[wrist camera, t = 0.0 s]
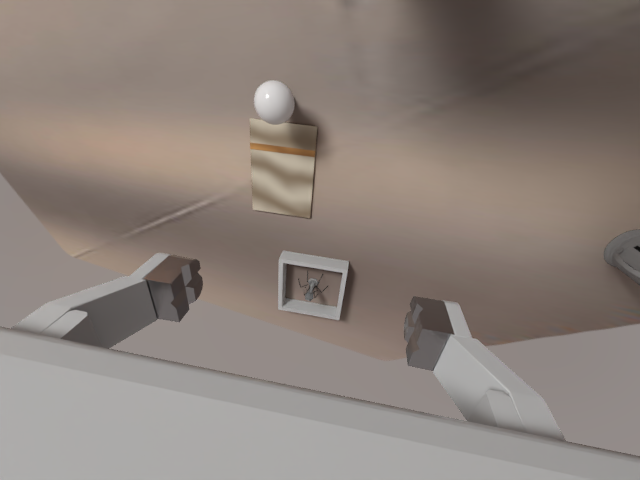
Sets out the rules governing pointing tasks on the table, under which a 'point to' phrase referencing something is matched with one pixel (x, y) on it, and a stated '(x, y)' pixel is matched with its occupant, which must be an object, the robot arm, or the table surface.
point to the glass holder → (625, 254)
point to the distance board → (282, 167)
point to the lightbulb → (274, 102)
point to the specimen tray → (311, 262)
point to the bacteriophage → (311, 288)
